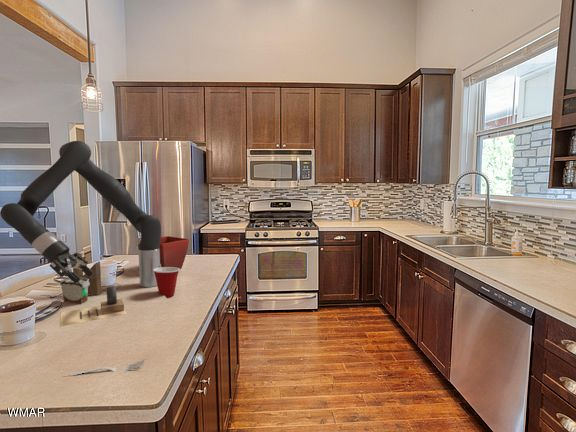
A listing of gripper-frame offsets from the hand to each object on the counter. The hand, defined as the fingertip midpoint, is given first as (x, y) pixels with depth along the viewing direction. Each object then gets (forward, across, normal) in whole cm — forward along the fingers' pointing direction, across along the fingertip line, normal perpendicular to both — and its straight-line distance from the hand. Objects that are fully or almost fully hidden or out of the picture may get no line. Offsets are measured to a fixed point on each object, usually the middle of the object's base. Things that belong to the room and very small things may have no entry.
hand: (85, 277), depth 125 cm
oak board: (+12, -3, +7) cm, 15 cm away
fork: (+26, -40, -6) cm, 48 cm away
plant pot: (+16, +65, +4) cm, 67 cm away
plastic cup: (+26, +20, -6) cm, 33 cm away
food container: (+3, +11, +16) cm, 20 cm away
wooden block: (+1, +23, +19) cm, 30 cm away
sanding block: (+15, 0, +2) cm, 15 cm away
